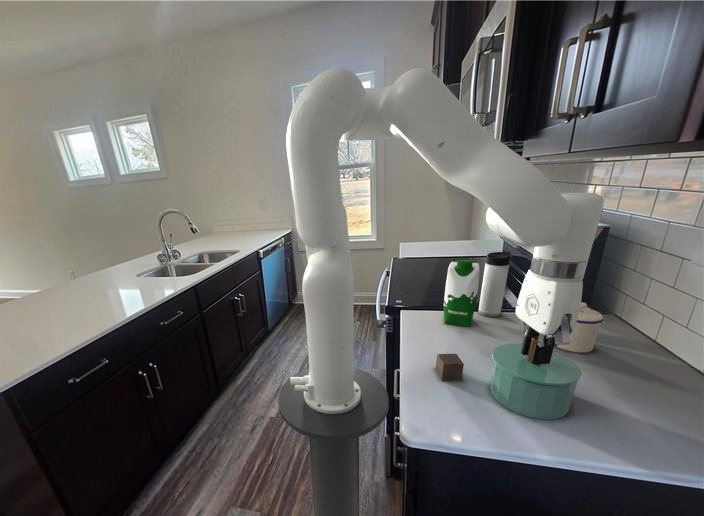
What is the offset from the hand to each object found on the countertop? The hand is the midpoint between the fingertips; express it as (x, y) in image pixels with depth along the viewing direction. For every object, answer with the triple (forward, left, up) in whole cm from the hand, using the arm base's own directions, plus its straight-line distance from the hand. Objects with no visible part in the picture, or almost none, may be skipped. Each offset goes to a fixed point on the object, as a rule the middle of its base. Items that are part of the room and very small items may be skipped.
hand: (534, 358), depth 62 cm
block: (-13, +8, -9) cm, 18 cm away
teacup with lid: (+22, +22, -9) cm, 33 cm away
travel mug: (+12, +42, -9) cm, 45 cm away
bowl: (0, 0, -9) cm, 9 cm away
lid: (0, 0, -1) cm, 1 cm away
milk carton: (0, +37, -9) cm, 38 cm away
